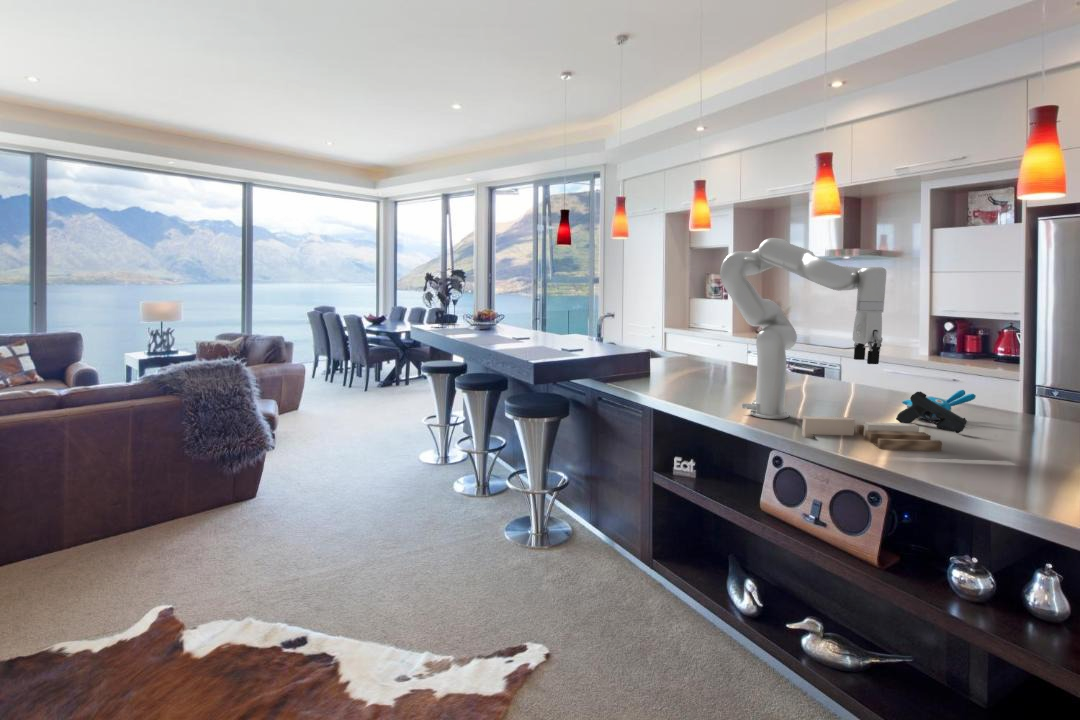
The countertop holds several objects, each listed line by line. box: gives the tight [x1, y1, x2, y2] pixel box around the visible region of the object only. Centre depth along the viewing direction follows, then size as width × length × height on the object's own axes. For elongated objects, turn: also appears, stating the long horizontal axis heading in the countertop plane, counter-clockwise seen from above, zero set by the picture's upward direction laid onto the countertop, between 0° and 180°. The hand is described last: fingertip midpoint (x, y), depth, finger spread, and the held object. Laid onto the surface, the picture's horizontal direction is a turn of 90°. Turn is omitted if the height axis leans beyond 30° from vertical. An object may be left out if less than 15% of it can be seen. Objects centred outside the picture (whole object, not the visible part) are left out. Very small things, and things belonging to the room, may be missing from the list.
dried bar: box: [863, 421, 920, 436], centre depth 182 cm, size 14×3×4 cm, turn 82°
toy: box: [901, 389, 976, 421], centre depth 208 cm, size 20×19×10 cm
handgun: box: [896, 391, 968, 434], centre depth 194 cm, size 2×17×12 cm, turn 41°
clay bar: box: [801, 415, 855, 438], centre depth 187 cm, size 14×3×6 cm, turn 83°
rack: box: [856, 424, 943, 452], centre depth 178 cm, size 16×17×4 cm
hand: (865, 361), depth 193 cm, fingers open, 9 cm apart
